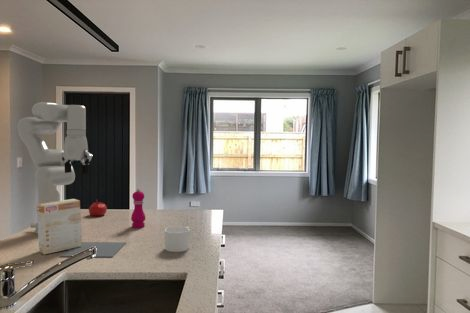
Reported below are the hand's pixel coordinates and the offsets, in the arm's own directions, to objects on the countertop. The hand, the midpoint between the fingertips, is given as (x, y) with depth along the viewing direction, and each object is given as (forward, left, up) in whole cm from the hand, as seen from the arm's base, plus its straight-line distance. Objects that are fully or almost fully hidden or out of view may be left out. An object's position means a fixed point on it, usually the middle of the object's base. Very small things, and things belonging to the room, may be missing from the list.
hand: (76, 173), depth 161 cm
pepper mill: (+20, +29, -31) cm, 47 cm away
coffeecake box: (-2, -11, -30) cm, 32 cm away
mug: (+46, -7, -31) cm, 56 cm away
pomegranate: (-10, +55, -31) cm, 64 cm away
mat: (+12, -11, -30) cm, 34 cm away
